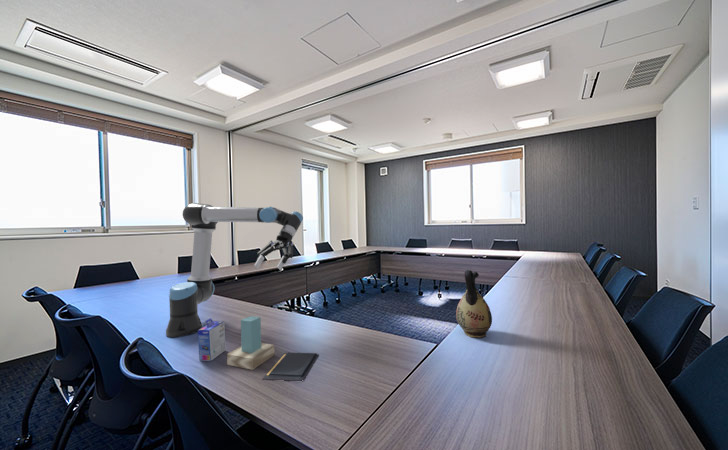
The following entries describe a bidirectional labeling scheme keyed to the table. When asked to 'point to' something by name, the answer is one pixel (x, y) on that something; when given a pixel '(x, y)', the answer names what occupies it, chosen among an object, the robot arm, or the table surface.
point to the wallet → (292, 367)
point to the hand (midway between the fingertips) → (267, 267)
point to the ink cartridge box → (211, 340)
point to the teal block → (251, 334)
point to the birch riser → (250, 357)
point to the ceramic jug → (473, 309)
